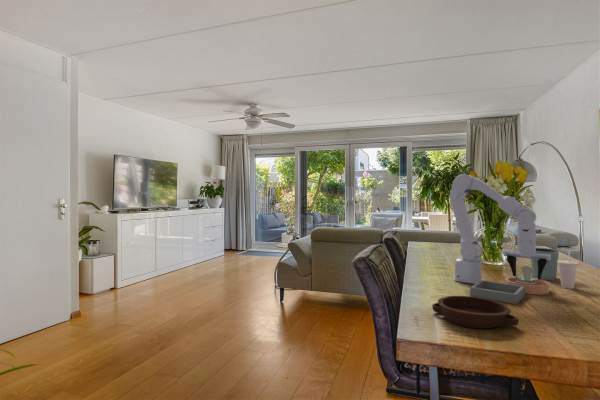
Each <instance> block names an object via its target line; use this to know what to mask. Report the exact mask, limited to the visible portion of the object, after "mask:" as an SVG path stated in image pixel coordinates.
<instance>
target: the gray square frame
mask: <svg viewBox="0 0 600 400" xmlns="http://www.w3.org/2000/svg"><path fill="white" fill-rule="evenodd" d="M469 296H470V297H479V298H485V299H490V300H493V301H496V302H502V303H508V304H509V303H510V304H513V305H517V304H518V303H520V301H521V300H522V299H523V298H524V297H525V296H526V293H525V286H519V285H512V284H505V282H498V281H492V280H485V279H483V280H481V281H479V282H478V283H476V284H472V286H470V287H469Z"/></svg>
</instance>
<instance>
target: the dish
mask: <svg viewBox="0 0 600 400" xmlns="http://www.w3.org/2000/svg"><path fill="white" fill-rule="evenodd" d="M431 306H432V310H433V312H435V313H437V314H440V315H442V316H443V317H444V318H445V319H446V320H448V321H449V322H450V323H453V324H455V325H458V326H462V327H465V328H471V329H472V328H473V329H480V330H481V329H482V330H483V329H493V328H497V327H500V326H503V325H505V326H507V325H508V326H518V325H519V322H520V321H519V317H518V316H514V315H512V314H511V313H512V310H511V309H510V308H509V307H508V306H507V305H506V304H504V303H503V302H502V303H501V302H500V301H496V300H491V299H485V298H479V297H474V296H470V295H469V296H468V295H449V296H444V297H440V298H439V299H438V300H437V302H435V303H432V305H431Z"/></svg>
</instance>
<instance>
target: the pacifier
mask: <svg viewBox="0 0 600 400" xmlns="http://www.w3.org/2000/svg"><path fill="white" fill-rule="evenodd" d="M521 270H522V274H523V276H521V275H518V274H516V276H515V277H516V278H518V279H519V280H516V282H518V283H522V284H529V285H535V284H536V283H535V282H533V281H536V280H538V278H535V279H530V278H531V275H532V267H530V266H529V265H525V266H523V268H522V269H521ZM523 277H524V278H523Z"/></svg>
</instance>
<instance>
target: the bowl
mask: <svg viewBox="0 0 600 400" xmlns="http://www.w3.org/2000/svg"><path fill="white" fill-rule="evenodd" d="M522 277H523V278H524V276H522ZM530 279H535V278H534V277H530ZM516 280H519V279H518V278H516V276H508V277H506V278H504V283H505V284H512V285H519V286H525V295H526V294H528V295H547V294H549V293H550V291H551V288H550V287H551V286H550V285H551V284H550V282H548V281H546V280H544V279H540V280H536V281H533V282H535V283H536V284H535V285H529V284H522V283H518V282H516Z"/></svg>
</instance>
